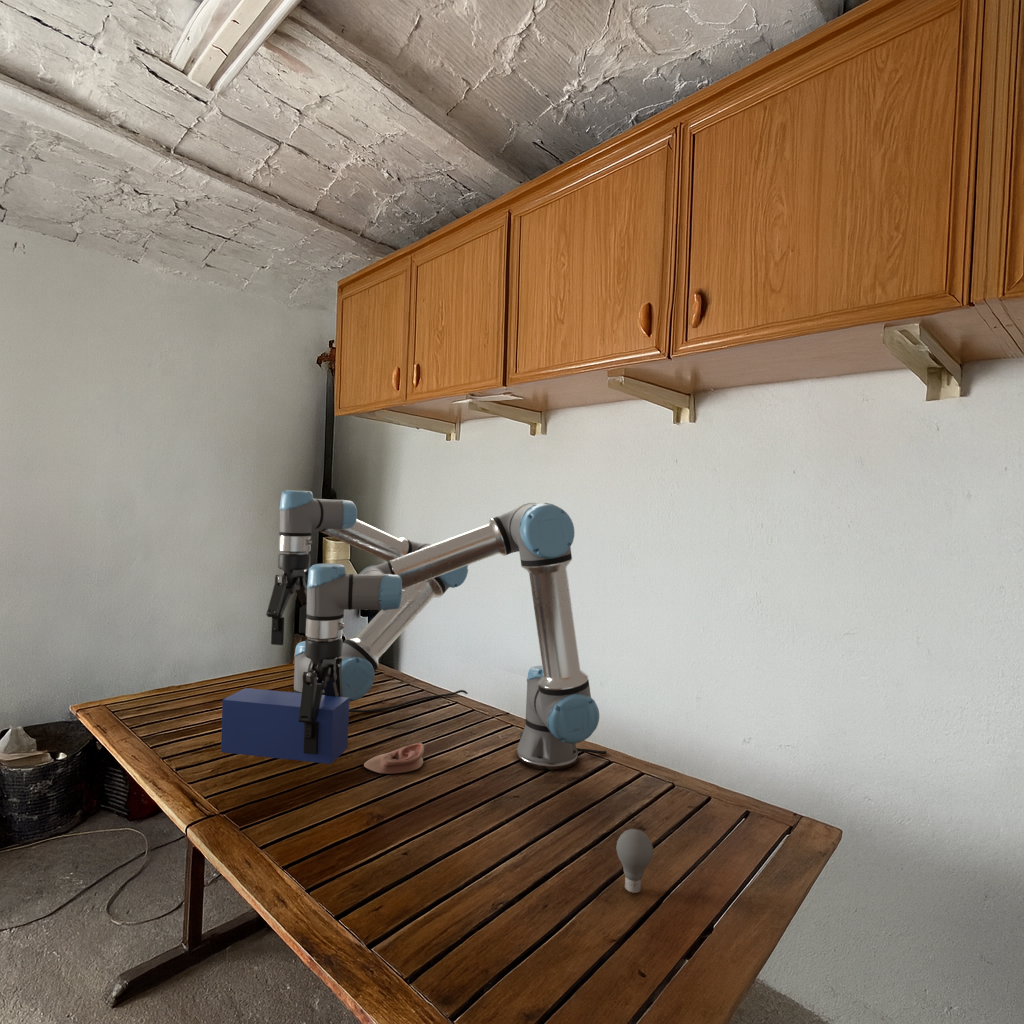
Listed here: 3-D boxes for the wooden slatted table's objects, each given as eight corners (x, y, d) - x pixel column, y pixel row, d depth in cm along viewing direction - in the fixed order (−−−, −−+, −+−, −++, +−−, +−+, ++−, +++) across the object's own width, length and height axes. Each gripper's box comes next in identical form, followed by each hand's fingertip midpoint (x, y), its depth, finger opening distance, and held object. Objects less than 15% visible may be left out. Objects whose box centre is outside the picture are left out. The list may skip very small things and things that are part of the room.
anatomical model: (358, 753, 147) (378, 735, 158) (357, 770, 147) (378, 751, 158) (412, 760, 144) (429, 742, 155) (412, 778, 144) (428, 758, 155)
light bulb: (610, 879, 108) (613, 822, 108) (644, 879, 109) (647, 822, 109) (619, 902, 102) (622, 840, 102) (655, 901, 103) (658, 840, 103)
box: (220, 752, 132) (222, 699, 132) (243, 737, 141) (245, 687, 140) (330, 764, 129) (332, 710, 128) (347, 748, 137) (349, 697, 137)
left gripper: (283, 557, 143) (279, 651, 144) (330, 550, 168) (327, 629, 168) (252, 556, 144) (249, 648, 145) (304, 548, 169) (301, 627, 169)
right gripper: (318, 650, 122) (314, 767, 122) (360, 629, 143) (357, 728, 143) (281, 647, 123) (278, 763, 123) (329, 626, 144) (326, 725, 144)
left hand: (291, 638), depth 157 cm, fingers open, 13 cm apart
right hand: (320, 744), depth 133 cm, fingers closed on box, 8 cm apart
